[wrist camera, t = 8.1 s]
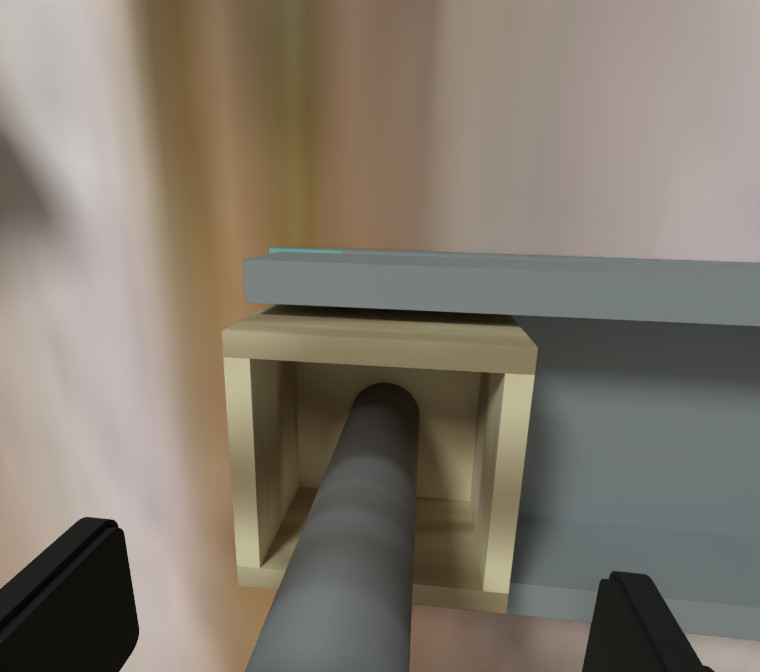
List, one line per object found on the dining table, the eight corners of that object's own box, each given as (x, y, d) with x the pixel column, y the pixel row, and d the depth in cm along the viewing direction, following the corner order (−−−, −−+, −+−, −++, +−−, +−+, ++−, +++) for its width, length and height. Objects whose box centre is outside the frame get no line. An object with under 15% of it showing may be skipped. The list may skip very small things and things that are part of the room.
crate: (281, 298, 19) (12, 445, 7) (504, 308, 18) (667, 496, 6) (287, 490, 21) (94, 862, 9) (484, 507, 20) (570, 942, 8)
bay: (279, 246, 20) (216, 258, 14) (944, 268, 17) (1207, 294, 11) (286, 507, 23) (239, 605, 17) (845, 556, 20) (1010, 689, 15)
